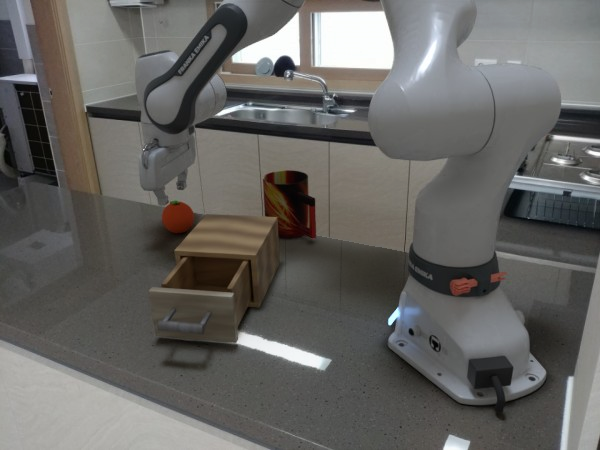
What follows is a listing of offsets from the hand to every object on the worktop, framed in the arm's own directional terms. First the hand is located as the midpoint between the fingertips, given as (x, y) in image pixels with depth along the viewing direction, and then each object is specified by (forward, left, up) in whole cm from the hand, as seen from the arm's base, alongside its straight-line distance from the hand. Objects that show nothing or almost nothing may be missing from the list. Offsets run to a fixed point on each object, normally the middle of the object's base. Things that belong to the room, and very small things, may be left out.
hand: (173, 196), depth 116 cm
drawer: (-39, +1, -7) cm, 40 cm away
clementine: (0, 0, -9) cm, 9 cm away
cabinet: (-27, -6, -8) cm, 29 cm away
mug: (-10, -24, -8) cm, 28 cm away
